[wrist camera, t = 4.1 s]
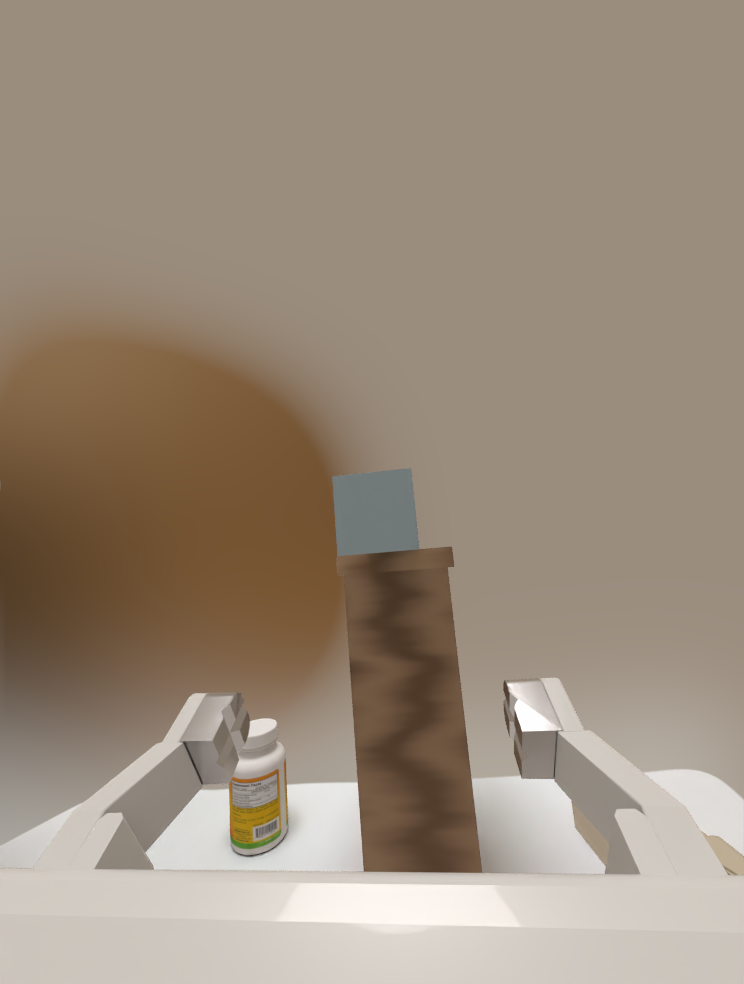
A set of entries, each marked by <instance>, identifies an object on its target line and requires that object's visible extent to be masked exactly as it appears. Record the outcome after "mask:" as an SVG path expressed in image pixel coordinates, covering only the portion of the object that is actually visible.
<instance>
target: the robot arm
mask: <svg viewBox="0 0 744 984" xmlns="http://www.w3.org/2000/svg"><path fill="white" fill-rule="evenodd" d="M504 693H505V696H506V699H505V700H504V714H505V721H506V725H507V729H508V733H509V736H510V738H511V739H512V740H513V741H514V754H515V757H516V761H517V764H518V767H519V771H520V774H521V778H522V779H555V782H556V783H557V784H558V785H559V787H560V788H561V789H562V790H563V791H564V792H565V793H566V795H567V796H568V797H569V798H570V799H571V800H572V801H573V803H574V804H575V805H576V806H577V807H578V808H579V809H580V811H581V812H582V813H583V814H584V815H585V816H586V817H587V819H588V820H589V821H590V822H591V823H592V824H593V825H594V827H595V828H596V829H597V830H598V831H599V832H600V833H601V835H602V836H603V837H604V838H605V839H606V840H607V841H608V843H609V844H610V845H609V852H608V858H607V864H606V870H605V874H542V873H441V872H345V871H238V870H154V868H153V865H152V863H151V862H150V860H149V858H148V857H147V855H146V853H145V852H146V851H147V850H148V849H149V847H150V846H151V845H152V844H153V843H154V842H155V841H156V839H157V838H158V837H159V836H160V835H161V834H162V833H163V831H164V830H165V829H166V828H167V827H168V826H169V825H170V823H171V822H172V821H173V820H174V819H175V818H176V817H177V815H178V814H179V813H180V812H181V811H182V810H183V808H184V807H185V806H186V805H187V804H188V803H189V802H190V800H191V799H192V798H193V797H194V796H195V795H196V794H197V792H198V791H199V790H200V789H201V788H202V785H207V784H226V783H230V782H231V779H232V777H233V774H234V772H235V769H236V766H237V764H238V761H239V758H238V754H237V752H238V751H239V750H240V749H241V748H242V747H243V746H244V745H245V743H246V740H247V738H248V734H249V728H250V718H249V714H248V711H247V710H246V709H245V708H243V707H242V704H243V701H244V699H243V697H242V694H241V693H197V694H195V693H194V694H193V695H192V696H190V697H189V698H188V700H187V702H186V704H185V705H184V707H183V708H182V710H181V712H180V713H179V715H178V717H177V718H176V720H175V722H174V723H173V725H172V727H171V729H170V730H169V732H168V734H167V735H166V737H165V738H164V740H163V742H162V743H157V744H156V745H154V746H153V747H152V748H151V749H150V750H148V751H147V752H146V753H145V754H143V755H142V756H141V757H140V758H138V759H137V760H136V761H135V762H133V763H132V764H131V765H130V766H128V767H127V768H126V769H125V770H124V771H122V772H121V773H120V774H119V775H117V776H116V777H115V778H114V779H113V780H111V781H110V782H109V783H107V784H106V785H105V786H104V787H103V788H101V789H100V790H99V791H98V792H96V793H95V794H94V795H93V796H91V797H90V798H89V799H88V800H86V801H85V802H84V803H83V804H81V805H80V806H79V807H78V808H76V809H75V810H74V811H73V812H72V813H71V815H70V816H69V818H68V819H67V820H66V822H65V823H64V825H63V826H62V828H61V829H60V830H59V832H58V833H57V835H56V836H55V837H54V839H53V840H52V842H51V843H50V845H49V846H48V847H47V849H46V850H45V852H44V853H43V855H42V856H41V857H40V859H39V860H38V862H37V863H36V865H35V866H34V867H33V868H0V984H744V875H728V874H727V872H726V871H725V869H724V867H723V866H722V864H721V863H720V861H719V859H718V858H717V856H716V855H715V853H714V851H713V850H712V848H711V847H710V845H709V843H708V842H707V840H706V839H705V837H704V835H703V834H702V832H701V831H700V829H699V827H698V826H697V824H696V823H695V821H694V819H693V818H692V816H691V815H690V813H689V811H688V810H687V808H686V807H685V806H684V805H683V804H681V803H680V802H679V801H678V800H676V799H675V798H674V797H673V796H671V795H670V794H669V793H668V792H666V791H665V790H664V789H663V788H661V787H660V786H659V785H658V784H656V783H655V782H654V781H653V780H652V779H650V778H649V777H648V776H647V775H645V774H644V773H643V772H642V771H640V770H639V769H638V768H637V767H635V766H634V765H633V764H632V763H630V762H629V761H628V760H627V759H625V758H624V757H623V756H622V755H620V754H619V753H618V752H616V751H615V750H614V749H613V748H612V747H610V746H609V745H608V744H607V743H605V742H604V741H603V740H601V739H600V738H599V737H598V736H597V735H595V734H594V733H593V732H592V731H585V730H584V728H583V726H582V724H581V722H580V720H579V718H578V716H577V714H576V712H575V709H574V708H573V706H572V703H571V701H570V699H569V697H568V696H567V693H566V691H565V689H564V687H563V685H562V683H561V681H560V680H559V679H558V678H541V679H538V678H536V679H519V680H505V681H504Z"/></svg>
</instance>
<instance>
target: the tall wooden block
mask: <svg viewBox="0 0 744 984" xmlns="http://www.w3.org/2000/svg"><path fill="white" fill-rule="evenodd" d="M336 561H337V575H338V576H339V575H344V586H345V599H346V616H347V630H348V645H349V659H350V674H351V689H352V704H353V716H354V717H353V718H354V733H355V748H356V760H357V776H358V792H359V806H360V821H361V836H362V850H363V865H364V872H441V873H482V869H481V860H480V852H479V843H478V834H477V825H476V816H475V807H474V798H473V789H472V780H471V772H470V763H469V755H468V745H467V736H466V727H465V719H464V710H463V700H462V693H461V692H462V691H461V683H460V675H459V666H458V656H457V647H456V638H455V630H454V621H453V611H452V603H451V594H450V585H449V576H448V567H454V560H453V552H452V547H441V548H429V549H417V550H405V551H393V552H381V553H369V554H357V555H345V556H336Z"/></svg>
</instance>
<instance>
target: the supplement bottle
mask: <svg viewBox="0 0 744 984" xmlns="http://www.w3.org/2000/svg"><path fill="white" fill-rule="evenodd" d="M277 738H278V731H277V722H276V721H275V720H273V719H258V720H253V721H250V728H249V734H248V738H247V740H246V743H245V745H244V746H243V747H242V748H241V749H240V750H239V751H238V752H237V754H238V758H239V761H238V764H237V766H236V769H235V772H234V774H233V777H232V779H231V782H230V783H229V794H230V838H231V845H232V847H233V849H234V850H235V851H236V852H237V853H239V854H243V855H255V854H259V853H262V852H265V851H267V850H269V849H271V848H273V847H274V846H276V845H277V844H278V843H279V842H280V841H281V840H282V839H283V837H284V836H285V834H286V832H287V829H288V807H287V782H286V759H285V750H284V747H283V745H282V744H281V743H279V742H277V741H276V740H277Z"/></svg>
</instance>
